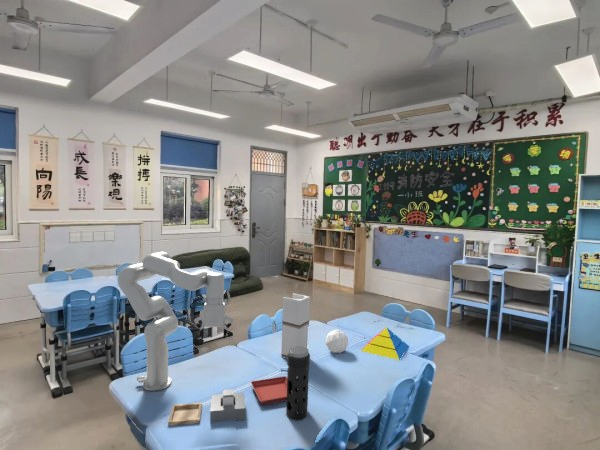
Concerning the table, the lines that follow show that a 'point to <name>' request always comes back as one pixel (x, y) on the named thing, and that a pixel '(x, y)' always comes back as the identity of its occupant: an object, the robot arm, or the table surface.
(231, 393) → the plug
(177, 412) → the tray
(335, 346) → the geodesic sphere
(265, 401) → the plant saucer
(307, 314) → the white banded pillar
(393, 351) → the pyramid toy
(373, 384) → the table surface
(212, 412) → the block
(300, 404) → the muzzle brake
